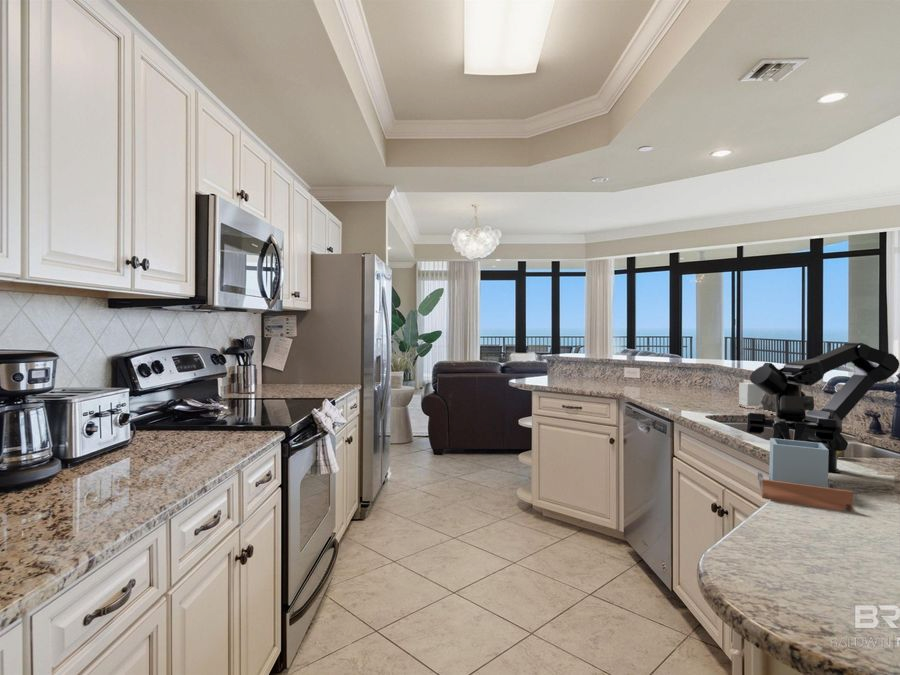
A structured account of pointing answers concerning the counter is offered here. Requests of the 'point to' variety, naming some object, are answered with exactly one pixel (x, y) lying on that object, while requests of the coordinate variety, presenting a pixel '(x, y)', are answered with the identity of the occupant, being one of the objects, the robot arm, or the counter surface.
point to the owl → (771, 401)
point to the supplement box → (749, 394)
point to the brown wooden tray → (806, 494)
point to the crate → (798, 462)
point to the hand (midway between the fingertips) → (792, 454)
